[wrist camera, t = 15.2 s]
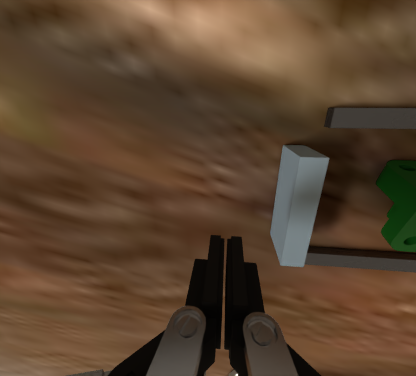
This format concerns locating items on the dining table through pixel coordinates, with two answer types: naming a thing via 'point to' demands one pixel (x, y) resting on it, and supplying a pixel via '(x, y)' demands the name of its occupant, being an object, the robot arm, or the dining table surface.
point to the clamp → (400, 204)
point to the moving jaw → (297, 202)
